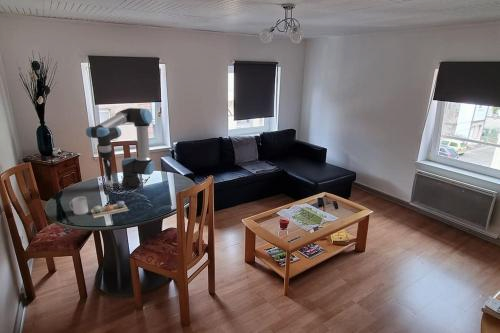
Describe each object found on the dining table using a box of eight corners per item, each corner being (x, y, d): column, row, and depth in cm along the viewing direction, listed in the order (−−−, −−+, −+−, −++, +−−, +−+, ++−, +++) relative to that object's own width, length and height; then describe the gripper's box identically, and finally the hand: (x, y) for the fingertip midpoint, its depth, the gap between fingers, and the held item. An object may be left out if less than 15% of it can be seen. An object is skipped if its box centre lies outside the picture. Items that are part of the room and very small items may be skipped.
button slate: (116, 206, 218) (116, 201, 217) (123, 205, 221) (123, 200, 219) (118, 209, 214) (117, 204, 213) (125, 207, 217) (124, 202, 216)
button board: (90, 211, 214) (90, 209, 213) (123, 204, 226) (123, 202, 225) (94, 219, 202) (94, 217, 201) (129, 211, 214) (129, 210, 213)
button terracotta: (105, 210, 214) (104, 205, 213) (112, 209, 217) (112, 204, 216) (106, 213, 210) (106, 208, 209) (114, 211, 213) (113, 206, 212)
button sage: (93, 211, 210) (92, 206, 209) (101, 209, 212) (100, 204, 211) (94, 214, 206) (93, 209, 205) (102, 212, 209) (101, 207, 207)
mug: (75, 209, 215) (73, 195, 212) (91, 211, 213) (89, 196, 210) (66, 215, 207) (64, 200, 204) (83, 216, 205) (80, 201, 202)
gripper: (97, 149, 207) (102, 182, 214) (101, 154, 197) (105, 188, 204) (109, 148, 211) (113, 180, 218) (113, 152, 201) (117, 186, 208)
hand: (109, 184), depth 211 cm, fingers closed
